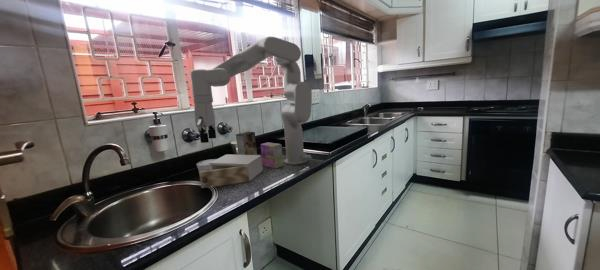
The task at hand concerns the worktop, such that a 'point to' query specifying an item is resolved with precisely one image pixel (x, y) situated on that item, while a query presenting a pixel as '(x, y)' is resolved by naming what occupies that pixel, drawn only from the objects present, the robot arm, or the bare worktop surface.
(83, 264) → the worktop surface
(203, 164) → the ramekin
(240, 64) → the robot arm
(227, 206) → the worktop surface
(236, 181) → the door
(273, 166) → the box
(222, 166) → the box
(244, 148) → the coffee box
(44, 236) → the worktop surface
